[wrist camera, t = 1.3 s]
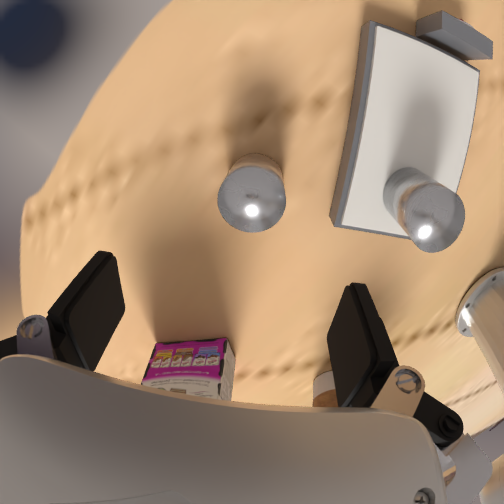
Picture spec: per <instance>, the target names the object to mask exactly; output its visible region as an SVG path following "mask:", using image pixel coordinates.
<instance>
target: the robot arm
mask: <svg viewBox="0 0 504 504" xmlns="http://www.w3.org/2000/svg"><path fill="white" fill-rule="evenodd" d="M124 312H125V303H124V298H123V293H122V288H121V283H120V277H119V272H118V266H117V260H116V257H115V256H113V254H112V253H111V252H106V251H98V252H97V253H96V254H95V255H94V256H93V257H92V258H91V260H90V261H89V262H88V263H87V264H86V265H85V266H84V268H83V269H82V270H81V271H80V272H79V273H78V275H77V276H76V277H75V278H74V279H73V281H72V282H71V283H70V284H69V286H68V287H67V288H66V289H65V290H64V292H63V293H62V294H61V295H60V297H59V298H58V299H57V301H56V302H55V303H54V304H53V306H52V307H51V308H50V310H49V311H48V312H47V313H48V316H47V317H46V318H45V317H43V316H41V315H31V316H29V317H27V318H25V319H24V320H22V322H21V323H20V324H19V326H18V328H17V335H15V336H13V337H10V338H7V339H5V340H2V341H0V504H471V503H472V502H473V501H474V500H475V498H476V497H477V495H478V494H480V501H481V504H504V454H503V455H501V456H500V457H498V458H497V459H496V460H494V461H493V462H492V463H491V461H490V459H489V458H488V457H487V456H486V454H485V453H484V452H483V451H482V450H481V448H480V447H479V446H478V445H477V444H476V442H474V440H473V439H472V438H471V437H470V435H469V434H468V433H467V434H465V435H464V434H463V422H462V419H461V418H460V416H459V415H458V414H457V413H456V412H454V411H453V410H451V409H450V408H448V407H447V406H445V405H444V404H442V403H441V402H439V401H438V400H436V399H435V398H433V397H432V396H430V395H429V394H427V393H426V392H424V389H425V381H424V379H423V377H422V375H421V374H420V373H419V372H418V371H417V370H416V369H414V368H412V367H410V366H399V364H398V361H397V358H396V355H395V353H394V350H393V347H392V344H391V342H390V339H389V336H388V334H387V331H386V329H385V326H384V324H383V321H382V319H381V318H380V317H379V315H378V312H377V310H376V308H375V305H374V303H373V300H372V298H371V295H370V293H369V291H368V288H367V286H366V284H362V283H351V284H350V286H346V287H345V289H344V292H343V295H342V298H341V300H340V303H339V306H338V308H337V311H336V313H335V316H334V319H333V321H332V324H331V326H330V329H329V331H328V334H327V343H328V348H329V354H330V360H331V365H332V371H333V377H334V384H335V390H336V397H337V403H338V407H300V406H280V405H265V404H254V403H244V402H235V401H227V400H219V399H212V398H206V397H199V396H193V395H188V394H182V393H177V392H172V391H167V390H162V389H157V388H153V387H148V386H144V385H140V384H136V383H132V382H128V381H124V380H120V379H117V378H113V377H110V376H106V375H103V374H99V373H96V372H93V371H94V370H95V369H96V367H97V365H98V363H99V361H100V359H101V357H102V355H103V353H104V351H105V349H106V347H107V345H108V343H109V341H110V339H111V337H112V335H113V333H114V331H115V329H116V327H117V326H118V324H119V322H120V320H121V318H122V316H123V315H124ZM455 322H456V327H457V329H458V331H459V332H460V334H462V335H463V336H467V337H474V338H475V340H476V342H477V344H478V345H479V347H480V349H481V351H482V353H483V355H484V356H485V358H486V360H487V362H488V364H489V366H490V368H491V370H492V372H493V374H494V376H495V378H496V380H497V382H498V384H499V387H500V389H501V391H502V393H503V395H504V267H503V268H497V269H494V270H492V271H490V272H488V273H487V274H485V275H484V276H483V277H481V278H480V279H479V280H478V281H477V282H476V283H475V284H474V285H473V286H472V287H471V288H470V289H469V291H468V292H467V294H466V295H465V296H464V298H463V300H462V301H461V303H460V306H459V308H458V310H457V314H456V320H455Z"/></svg>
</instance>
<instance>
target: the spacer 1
mask: <svg viewBox="0 0 504 504" xmlns="http://www.w3.org/2000/svg"><path fill="white" fill-rule="evenodd" d="M285 206H286V196H285V189H284V182H283V176H282V172H281V169H280V167H279V166H278V164H277V163H276V162H275V161H274V160H273V159H272V158H270V157H268V156H266V155H263V154H257V153H254V154H248V155H245V156H243V157H241V158H239V159H238V160H237V161H236V162H235V163H234V164H233V166H232V167H231V169H230V171H229V173H228V174H227V176H226V178H225V180H224V181H223V183H222V185H221V187H220V189H219V192H218V207H219V210H220V213H221V215H222V216H223V218H224V219H225V220H226V221H227V222H228V223H229V224H230V225H231V226H232V227H234V228H236V229H238V230H241V231H244V232H261V231H264V230H267V229H269V228H271V227H272V226H274V225H275V224H276V223H277V222H278V221H279V220H280V218H281V217H282V215H283V213H284V210H285Z"/></svg>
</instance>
